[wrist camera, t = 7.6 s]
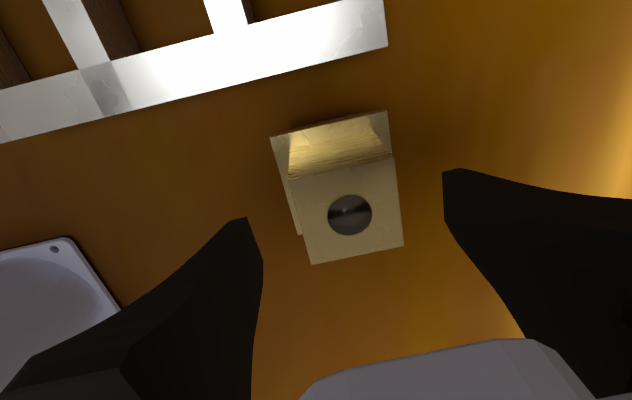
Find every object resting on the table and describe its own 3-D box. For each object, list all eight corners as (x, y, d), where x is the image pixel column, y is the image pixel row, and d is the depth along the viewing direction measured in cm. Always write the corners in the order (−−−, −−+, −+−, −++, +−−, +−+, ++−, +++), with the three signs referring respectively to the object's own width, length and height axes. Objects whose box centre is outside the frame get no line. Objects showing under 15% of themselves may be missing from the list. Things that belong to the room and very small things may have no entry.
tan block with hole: (297, 201, 19) (297, 283, 13) (274, 118, 17) (261, 167, 10) (381, 182, 19) (424, 257, 12) (369, 95, 16) (414, 133, 10)
